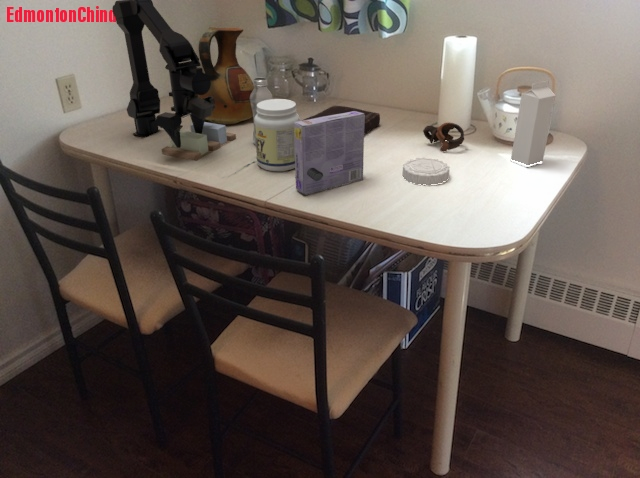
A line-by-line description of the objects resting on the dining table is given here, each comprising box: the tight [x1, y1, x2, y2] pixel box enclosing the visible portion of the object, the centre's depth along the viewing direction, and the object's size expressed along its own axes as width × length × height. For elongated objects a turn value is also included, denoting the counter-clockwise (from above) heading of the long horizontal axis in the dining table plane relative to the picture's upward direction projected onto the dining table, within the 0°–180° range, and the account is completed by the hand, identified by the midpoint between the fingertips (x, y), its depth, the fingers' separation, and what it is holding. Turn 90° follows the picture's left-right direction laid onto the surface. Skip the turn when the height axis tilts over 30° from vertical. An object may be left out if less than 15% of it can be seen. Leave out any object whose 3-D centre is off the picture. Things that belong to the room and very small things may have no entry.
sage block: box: [169, 129, 209, 155], centre depth 164 cm, size 10×4×5 cm, turn 63°
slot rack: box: [161, 131, 237, 162], centre depth 168 cm, size 12×20×2 cm, turn 153°
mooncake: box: [401, 157, 450, 186], centre depth 149 cm, size 12×12×4 cm
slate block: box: [189, 121, 227, 145], centre depth 171 cm, size 10×4×5 cm, turn 63°
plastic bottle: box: [250, 77, 274, 146], centre depth 165 cm, size 6×7×20 cm
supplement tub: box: [253, 98, 301, 172], centre depth 154 cm, size 12×12×17 cm
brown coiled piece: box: [422, 122, 465, 152], centre depth 167 cm, size 12×10×8 cm
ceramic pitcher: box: [198, 27, 255, 125], centre depth 185 cm, size 20×20×30 cm
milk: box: [510, 80, 556, 165], centre depth 151 cm, size 6×6×22 cm
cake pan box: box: [294, 111, 365, 196], centre depth 142 cm, size 19×5×18 cm, turn 123°
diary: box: [301, 105, 381, 135], centre depth 180 cm, size 19×25×5 cm
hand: (189, 142), depth 164 cm, fingers open, 9 cm apart
